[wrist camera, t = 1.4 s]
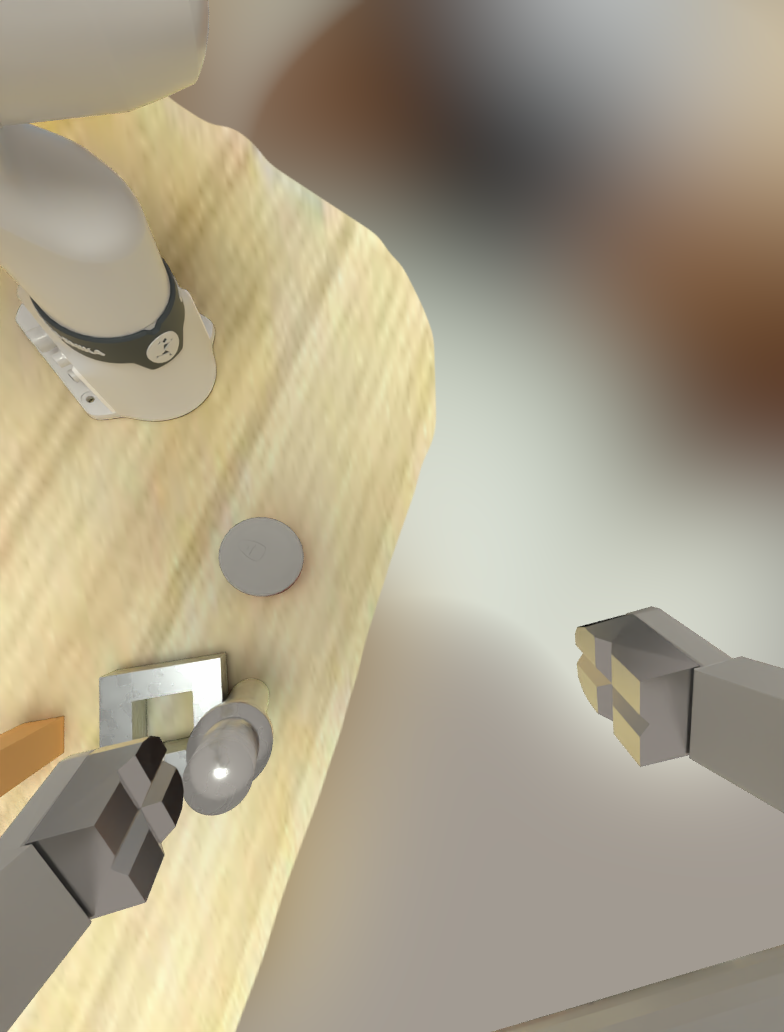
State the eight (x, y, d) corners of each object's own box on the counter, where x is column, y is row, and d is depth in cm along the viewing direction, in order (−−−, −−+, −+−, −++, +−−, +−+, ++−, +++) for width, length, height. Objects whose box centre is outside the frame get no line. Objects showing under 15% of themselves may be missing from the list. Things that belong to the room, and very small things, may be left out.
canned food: (244, 525, 48) (231, 507, 38) (308, 541, 50) (312, 527, 39) (225, 587, 46) (206, 586, 36) (292, 601, 48) (293, 604, 38)
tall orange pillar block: (22, 760, 39) (-90, 830, 27) (23, 723, 39) (-87, 776, 28) (63, 752, 40) (-28, 816, 28) (64, 716, 40) (-26, 764, 29)
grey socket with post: (117, 780, 40) (-36, 947, 21) (116, 669, 42) (-27, 733, 23) (281, 743, 45) (275, 855, 26) (274, 644, 47) (263, 681, 28)
